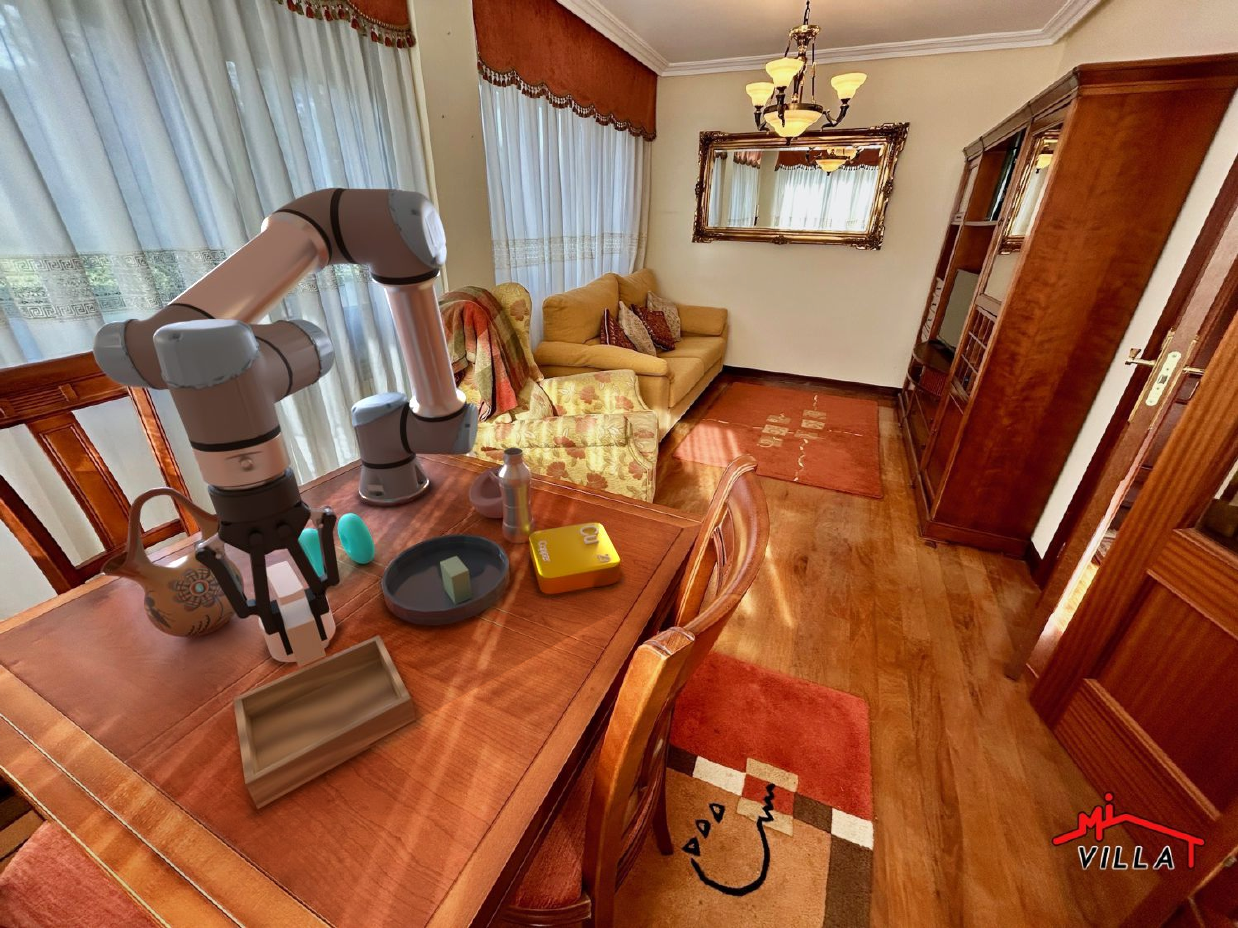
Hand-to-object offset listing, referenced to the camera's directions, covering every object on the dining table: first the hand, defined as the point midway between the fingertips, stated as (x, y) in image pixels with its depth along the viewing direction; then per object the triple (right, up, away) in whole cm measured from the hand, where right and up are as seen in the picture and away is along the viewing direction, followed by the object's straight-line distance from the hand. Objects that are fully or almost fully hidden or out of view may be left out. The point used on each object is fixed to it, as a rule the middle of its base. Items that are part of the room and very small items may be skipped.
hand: (305, 640), depth 63 cm
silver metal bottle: (+19, +6, +41) cm, 46 cm away
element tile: (+31, +2, +34) cm, 46 cm away
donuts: (-12, +2, +31) cm, 33 cm away
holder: (+1, -12, +3) cm, 12 cm away
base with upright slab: (-10, -5, +15) cm, 19 cm away
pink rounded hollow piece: (+12, +11, +49) cm, 52 cm away
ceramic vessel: (-26, -4, +17) cm, 31 cm away
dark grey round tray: (+9, 0, +28) cm, 29 cm away
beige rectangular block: (0, -1, +1) cm, 2 cm away
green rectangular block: (+11, -1, +25) cm, 27 cm away
